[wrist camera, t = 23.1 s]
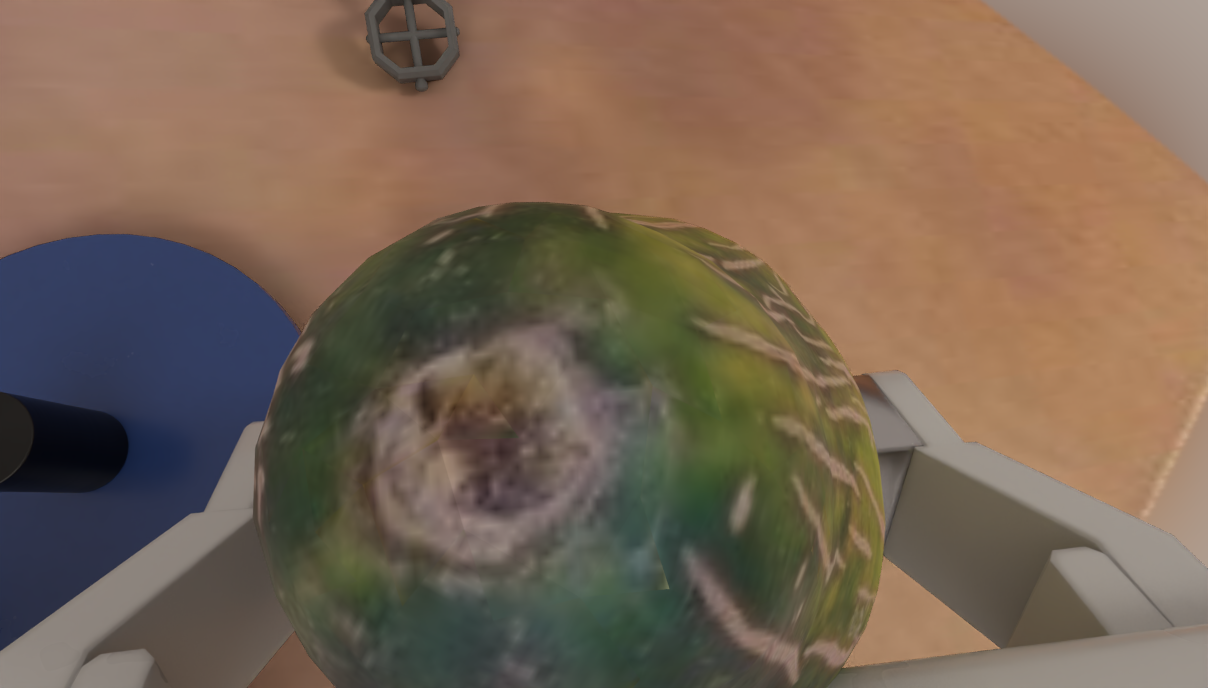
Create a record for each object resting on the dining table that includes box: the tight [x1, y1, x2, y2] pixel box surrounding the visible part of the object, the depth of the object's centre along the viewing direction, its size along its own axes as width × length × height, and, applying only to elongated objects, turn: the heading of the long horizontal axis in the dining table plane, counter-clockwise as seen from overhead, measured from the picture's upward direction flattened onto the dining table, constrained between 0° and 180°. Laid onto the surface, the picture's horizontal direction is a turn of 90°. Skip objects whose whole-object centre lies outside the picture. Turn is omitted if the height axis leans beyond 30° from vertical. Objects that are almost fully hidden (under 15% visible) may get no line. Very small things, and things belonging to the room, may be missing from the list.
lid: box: [0, 234, 301, 651], centre depth 19 cm, size 14×14×5 cm
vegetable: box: [253, 202, 886, 688], centre depth 12 cm, size 6×6×20 cm
